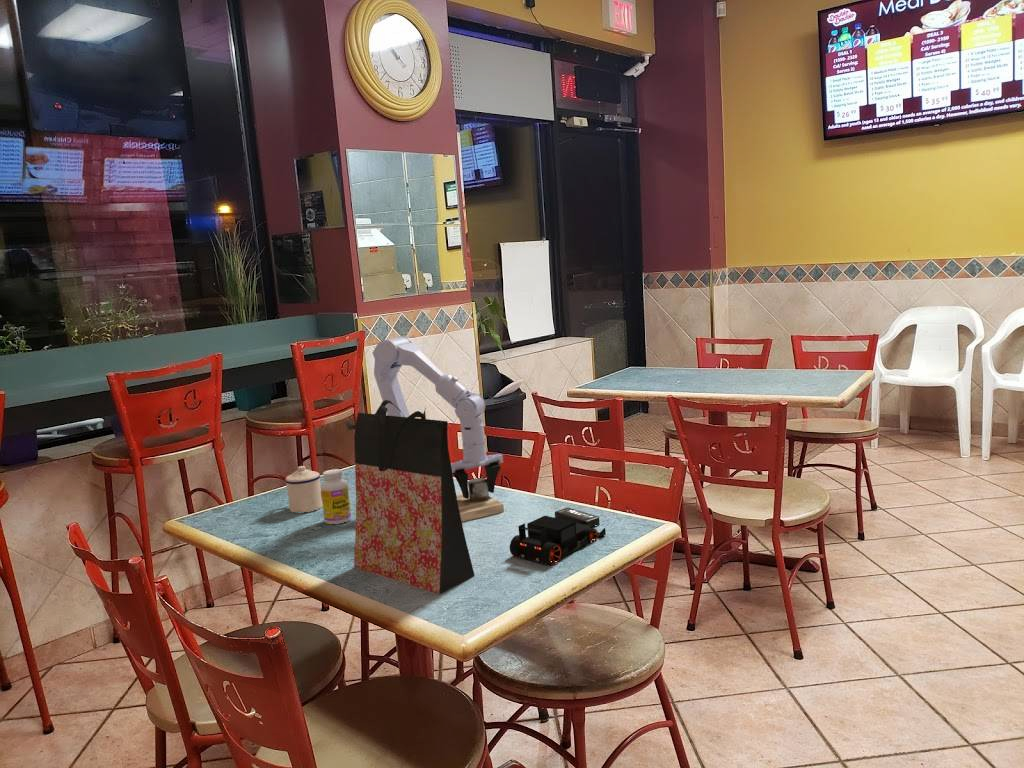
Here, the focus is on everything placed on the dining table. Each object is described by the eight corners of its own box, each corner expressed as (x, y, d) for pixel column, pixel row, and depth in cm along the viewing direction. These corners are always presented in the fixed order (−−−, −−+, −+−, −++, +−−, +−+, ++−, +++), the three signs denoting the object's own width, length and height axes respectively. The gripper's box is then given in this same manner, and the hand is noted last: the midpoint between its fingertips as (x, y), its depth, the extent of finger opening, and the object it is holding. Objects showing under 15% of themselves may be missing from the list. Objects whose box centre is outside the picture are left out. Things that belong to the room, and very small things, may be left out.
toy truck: (606, 537, 166) (604, 505, 165) (549, 569, 152) (546, 534, 151) (568, 529, 173) (566, 498, 172) (509, 559, 159) (507, 525, 158)
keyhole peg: (467, 506, 196) (465, 480, 195) (485, 502, 198) (483, 477, 197) (474, 511, 191) (472, 485, 190) (492, 507, 193) (490, 481, 192)
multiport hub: (586, 531, 171) (585, 521, 171) (554, 521, 180) (553, 511, 180) (600, 526, 174) (600, 516, 174) (568, 516, 182) (567, 507, 182)
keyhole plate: (424, 508, 196) (423, 501, 196) (477, 496, 203) (476, 489, 203) (448, 525, 182) (447, 517, 182) (504, 511, 189) (503, 503, 188)
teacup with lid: (330, 505, 206) (325, 464, 204) (303, 516, 199) (297, 472, 197) (303, 500, 213) (298, 460, 212) (276, 509, 207) (270, 468, 205)
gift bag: (484, 570, 153) (468, 399, 147) (433, 597, 142) (414, 413, 137) (389, 545, 172) (372, 392, 167) (337, 567, 161) (317, 405, 156)
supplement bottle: (332, 527, 188) (326, 476, 186) (320, 522, 193) (313, 472, 191) (356, 519, 192) (350, 470, 190) (343, 514, 197) (337, 466, 195)
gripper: (453, 450, 185) (458, 504, 187) (506, 440, 192) (511, 492, 194) (442, 445, 192) (447, 497, 194) (494, 435, 198) (498, 486, 200)
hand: (478, 494), depth 194 cm, fingers open, 6 cm apart
